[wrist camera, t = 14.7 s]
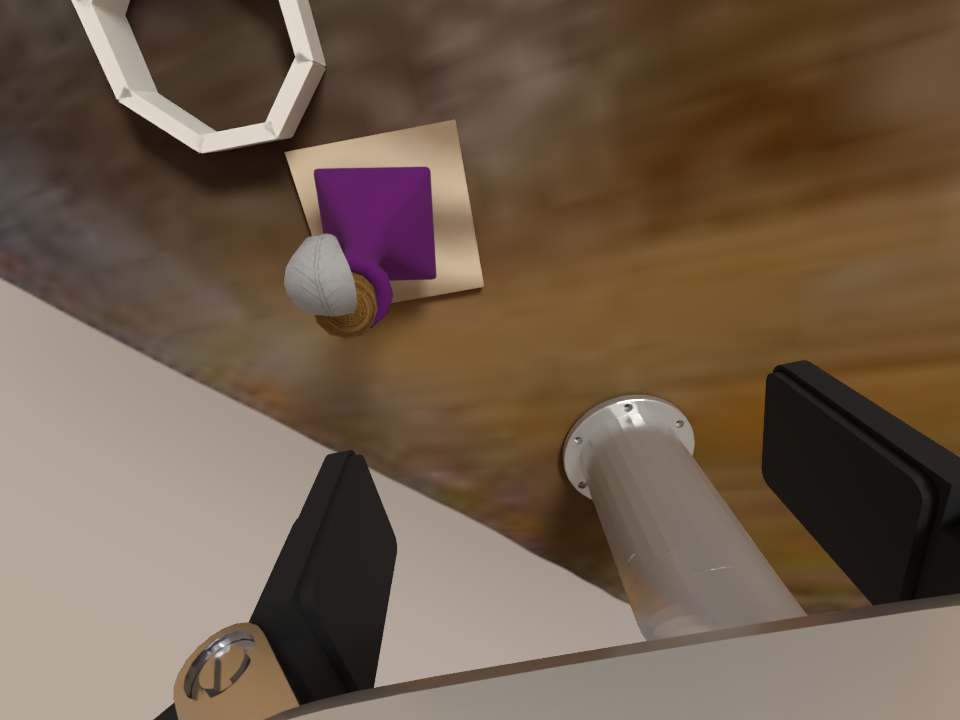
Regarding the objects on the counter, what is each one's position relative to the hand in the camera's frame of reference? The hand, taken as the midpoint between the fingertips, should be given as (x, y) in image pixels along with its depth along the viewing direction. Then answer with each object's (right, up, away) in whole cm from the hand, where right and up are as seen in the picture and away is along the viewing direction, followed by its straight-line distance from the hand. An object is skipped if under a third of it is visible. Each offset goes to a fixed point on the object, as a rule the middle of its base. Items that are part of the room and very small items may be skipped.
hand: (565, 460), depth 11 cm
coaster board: (-9, +13, +25) cm, 29 cm away
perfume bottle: (-9, +13, +24) cm, 29 cm away
